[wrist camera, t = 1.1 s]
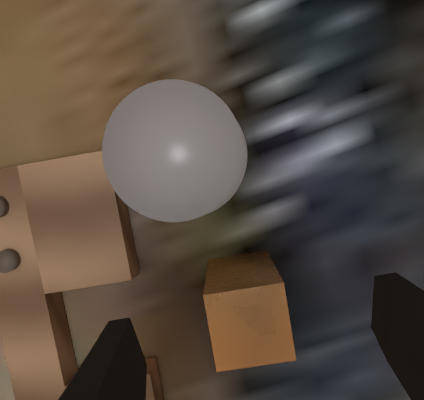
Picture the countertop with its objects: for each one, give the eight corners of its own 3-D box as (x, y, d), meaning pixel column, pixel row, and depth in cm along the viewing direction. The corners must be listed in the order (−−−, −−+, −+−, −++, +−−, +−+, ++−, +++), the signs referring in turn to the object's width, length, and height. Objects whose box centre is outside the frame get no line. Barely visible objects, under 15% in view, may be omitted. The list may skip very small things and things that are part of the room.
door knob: (255, 205, 21) (267, 219, 15) (139, 224, 21) (107, 245, 15) (235, 85, 20) (240, 52, 14) (116, 107, 20) (75, 83, 15)
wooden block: (275, 306, 21) (296, 360, 15) (218, 315, 21) (216, 372, 15) (266, 250, 21) (284, 282, 15) (208, 259, 21) (202, 295, 15)
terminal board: (165, 406, 22) (158, 435, 20) (41, 423, 22) (20, 454, 20) (116, 151, 21) (102, 149, 18) (-14, 174, 21) (-44, 175, 19)
